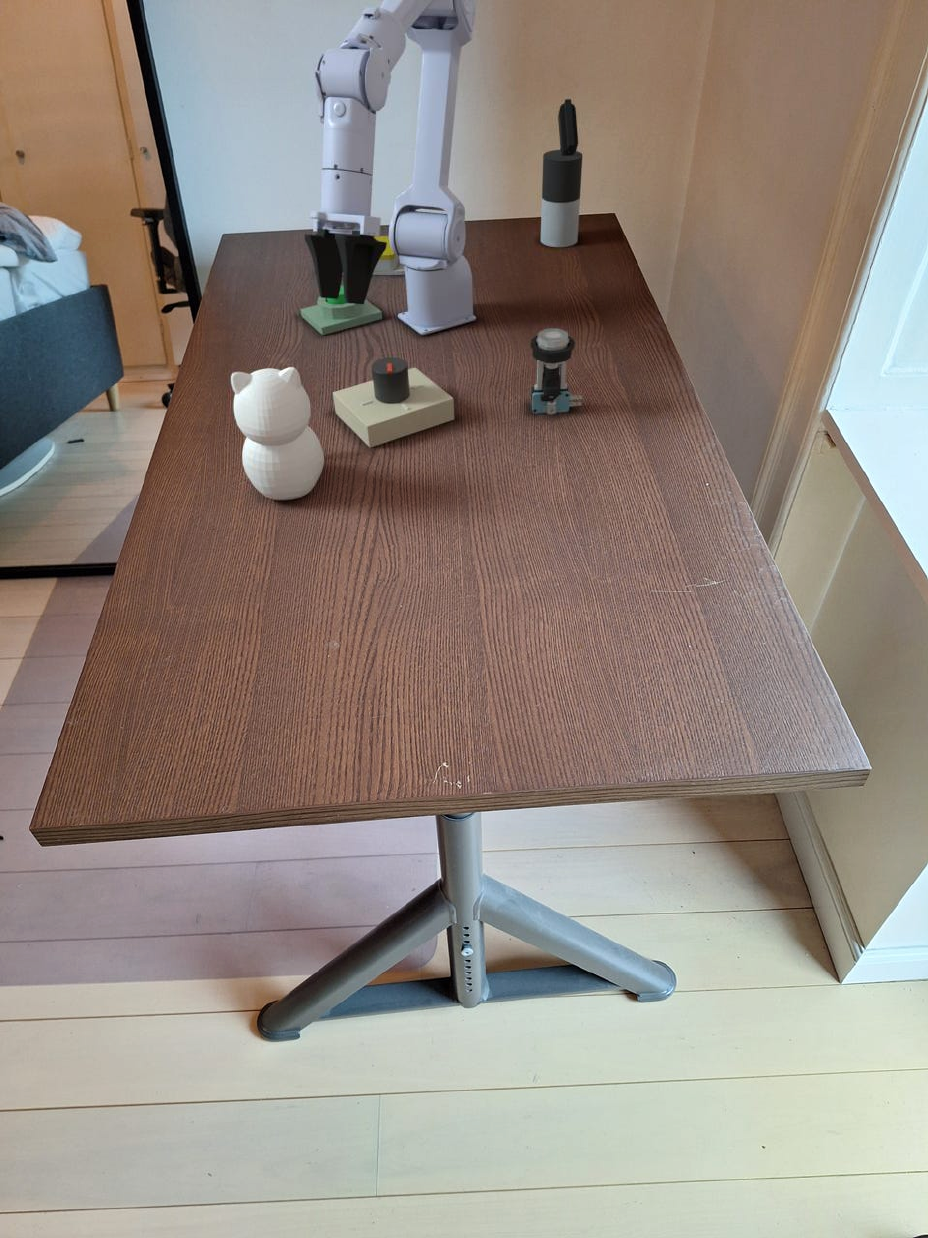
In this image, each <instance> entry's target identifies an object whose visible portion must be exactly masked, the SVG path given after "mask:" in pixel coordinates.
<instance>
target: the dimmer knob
mask: <svg viewBox="0 0 928 1238" xmlns="http://www.w3.org/2000/svg"><path fill="white" fill-rule="evenodd" d="M408 369H409V366H408V363H407V360H405V359H403V358H402V357H401V358H400V357H395V356H387V357H382V358H379V359H377V360H375V361H373V363H372V364H371V374H372V380H373V384H374V393H375V398H376V399H377V400H378V401H380V402H383V403H398V402H402V401H404V400H406V399H407V398H408V397H409V395H410V389H409V377H408Z"/></svg>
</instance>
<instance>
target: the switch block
mask: <svg viewBox="0 0 928 1238" xmlns="http://www.w3.org/2000/svg"><path fill="white" fill-rule="evenodd" d="M316 303H317V304H315V305H312V306H308V307H304V308H300V315H301V318H302V319H304V320H305V321H306V322H307V323H308V324H309V325H310V326H311V327H312V328H314V329H315V330H316V331H317V332H318V333H319V334H321V336H325V335H329V334H333V333H336V332H337V333H338V332H340V331H344V330H347V329H350V328H354V327H359V326H362V325H366V324H370V323H373V322H376V321H380V320H382V319H383V312H382V310H381V309H379V308H378V307H377V306H375V305H374V304H372V303H371V302H370V301H369V300H367V298H366V299H365V302H364V304H353V303H345V304H337V305H334V304H329V303H328V301H327V298H322V297H320V296H318V298H317V302H316Z"/></svg>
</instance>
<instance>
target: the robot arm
mask: <svg viewBox="0 0 928 1238" xmlns="http://www.w3.org/2000/svg"><path fill="white" fill-rule="evenodd" d="M477 1H478V0H383V1H382V3H381V5H380V7H379V6H378V7H376V6H366V7H365V8H364V10H363V11H362V15H361V17H360V18H359V19H358V21H357V22H356V24H355V25H354V27H353V28H352V29H351V31H350V32H349V33H348V35H347V36H346V37H345V39H344V41H343V42H342V43H341V44H340V46H339V47H338V48H335V47H334V48H333V47H330V48H328V49H327V50H326V51H325V53H323V54H321V55H320V57H319V58H318V60H317V63H316V68H315V69H316V70H315V71H314V86H315V92H316V96H317V99H318V117H319V122H320V124H323V129H322V130H323V132H322V137H323V138H322V159H321V160H322V161H321V162H322V163H321V185H320V187H321V189H320V211H310V219H313V226H312V229H313V230H312V232H314V233H315V234H306V233H305V234H304V241H305V243H306V245H307V247H308V250H309V252H310V255H311V258H312V261H313V265H314V270H315V276H316V281H317V288H318V293H319V297H322V298H333V299H338V296H339V293H340V288H341V285H342V282H343V286H344V296H345V301H346V303H353V304H364V302H365V299H366V300H367V296H368V292H369V289H370V288H369V287H370V285H371V282H372V278H373V276H374V275H373V272H374V270H375V267H376V265H377V263H378V261H379V259H380V257H381V255H382V254H383V252H384V251H385V249H386V245H387V243H386V242H381V241H376V238H374V236H375V237H379V236H381V235H380V234H381V221H382V220H381V219H382V218H381V217H379V216H378V217H377V216H371V215H372V198H373V197H372V196H373V179H374V178H373V176H374V161H375V160H374V159H375V144H376V125H377V112H380V111H381V110H382V109H383V108H384V107H385V105H386V102H387V97H388V92H389V91H388V90H389V86H390V83H391V79H392V75H391V73H392V71H393V70H394V68H395V67H396V65H397V63H398V62H399V60H401V58H402V56H403V55H404V53H405V50H406V47H407V39H409V40H410V41H412V42H414V43H416V44H417V45H419V46H420V50H421V51H422V58H421V59H422V62H421V70H420V71H421V73H420V74H421V75H420V84H419V86H420V87H419V99H418V111H417V123H416V136H415V146H414V147H415V148H414V158H413V159H414V160H413V173H412V183H411V184H410V185H409V186H408V187H407V188H406V189H405V190H403V191H402V192H401V193H400V194H399V195H398V196H396V197H395V199H394V200H395V201H394V206H393V212H392V217H391V219H390V222H389V226H388V236H389V242H390V246H391V249H392V250H393V252H394V254H395V255H396V256H398V257H399V258H400V264H404V266H405V275H404V276H405V290H406V302H407V311H404V312H400V313H398V314H397V318H398V319H399V320H401V321H402V322H403V323H404V324H406V325H407V326H409V327H410V328H411V329H413V331H416V332H417V334H419V335H420V336H426V335H429V334H434V333H436V332H440V331H444V330H446V329H450V328H453V327H457V326H460V325H464V324H467V323H470V322H474V321H476V319H477V317H476V315H474V296H473V295H474V293H473V273H472V270H471V269H472V268H471V265H470V264H469V261H468V259H467V258H466V257H465V256H464V255H463V253H464V249H465V245H466V240H467V239H466V237H467V234H466V233H467V232H466V231H467V230H466V210H465V209H466V208H465V206H464V204H463V203H462V201H461V200H460V199H459V198H458V197H457V195H455V194H454V193H453V192H452V190H451V189H450V188H449V179H450V178H449V177H450V167H451V158H452V157H451V156H452V155H451V154H452V145H453V135H454V134H453V133H454V124H455V114H456V113H455V112H456V103H457V90H458V83H459V82H458V81H459V71H460V63H461V62H460V61H461V53H462V48H463V47H464V46H465V45H466V44H468V43H469V42H471V41H472V39H473V33H474V29H475V23H476V22H475V21H476V11H477ZM406 37H407V38H406ZM419 210H429V211H419ZM430 211H441V212H442V211H443V212H445V213H443V212H442V213H440V212H430ZM347 228H348V229H347ZM349 228H350V229H349ZM342 274H343V275H342ZM342 280H343V281H342Z"/></svg>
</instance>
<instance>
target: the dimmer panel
mask: <svg viewBox="0 0 928 1238" xmlns="http://www.w3.org/2000/svg"><path fill="white" fill-rule="evenodd" d="M408 377H409V389H410V395H409V397H408V398H407V399H406V400H404V401H402V402H398V403H383V402H380V401H378V400H377V399H376V398H375V393H374V384H373V379H372V380H369V381H366V382H362V383H359V384H356V385H352V386H349V387H346V388H343V389H339V390H337V391H333V392H332V397H333V398H332V399H333V404H334V411H335V415H337V416H338V417H339V418H340V419H341V420H342V421H343V422H344V423H345V424H346V425H347V426H348V427H349V428H350V429H351V430H352V431H353V432H354V434H356V436H358V438H360V440H361V441H363V442H364V443H365V445H367V446H368V448H370V449H372V448H374V447H376V446H379V445H382V444H385V443H389V442H392V441H394V440H397V439H400V438H403V437H407V436H409V435H412V434H416V433H419V432H421V431H424V430H428V429H430V428H433V427H436V426H439V425H442V424H445V423H448V422H452V421H454V420H455V404H454V403H455V401H454V398H453V396H451V395H450V394H449V393H448V392H446V391H445V390H444V389H443V388H441V387H440V386H439V385H438V384H437V383H435V382H434V381H433V380H431V379H430V378H429V377H428V376H427V375H425V374H424V373H423V372H422V371H421V370H419V369H418V368H417V367H411V368H408Z"/></svg>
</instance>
